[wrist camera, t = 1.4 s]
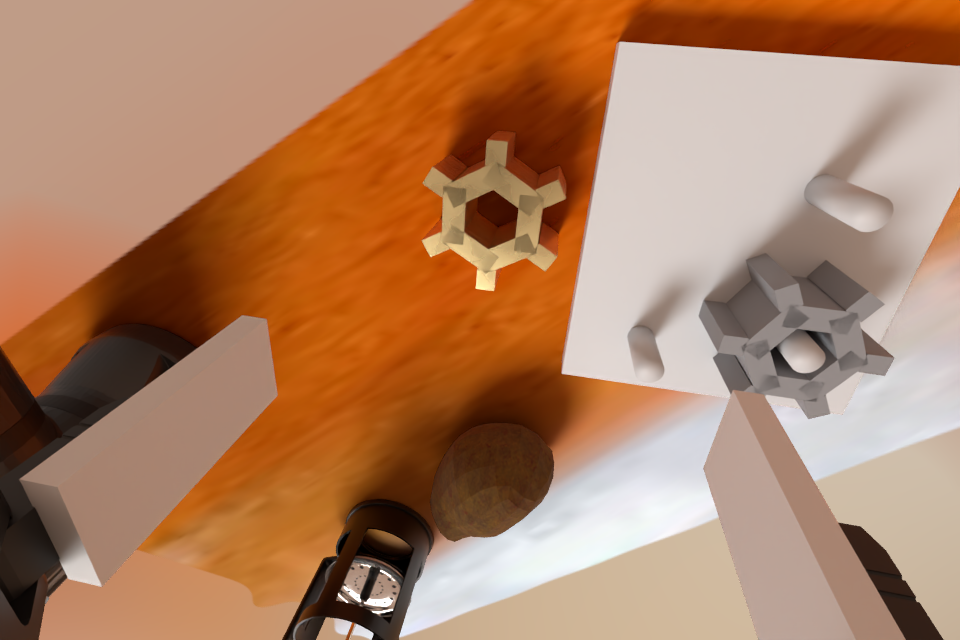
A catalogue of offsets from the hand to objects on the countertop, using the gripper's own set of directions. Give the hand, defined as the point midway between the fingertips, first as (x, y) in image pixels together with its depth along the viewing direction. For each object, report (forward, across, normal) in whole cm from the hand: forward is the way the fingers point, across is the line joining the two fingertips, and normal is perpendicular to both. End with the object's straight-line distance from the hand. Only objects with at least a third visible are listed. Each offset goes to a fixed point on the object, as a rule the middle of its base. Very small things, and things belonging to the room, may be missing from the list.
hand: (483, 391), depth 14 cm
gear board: (+23, +14, -1) cm, 27 cm away
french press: (+23, -12, -36) cm, 44 cm away
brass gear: (+23, -2, 0) cm, 23 cm away
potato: (+23, -2, -22) cm, 32 cm away
